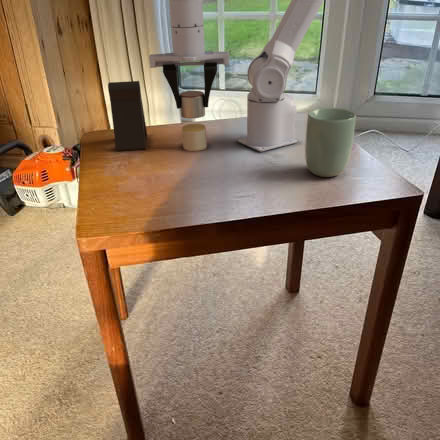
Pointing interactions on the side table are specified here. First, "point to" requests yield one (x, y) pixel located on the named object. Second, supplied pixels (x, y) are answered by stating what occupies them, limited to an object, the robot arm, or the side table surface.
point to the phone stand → (127, 115)
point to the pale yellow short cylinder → (194, 137)
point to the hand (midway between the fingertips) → (192, 106)
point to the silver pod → (192, 104)
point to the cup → (329, 140)
